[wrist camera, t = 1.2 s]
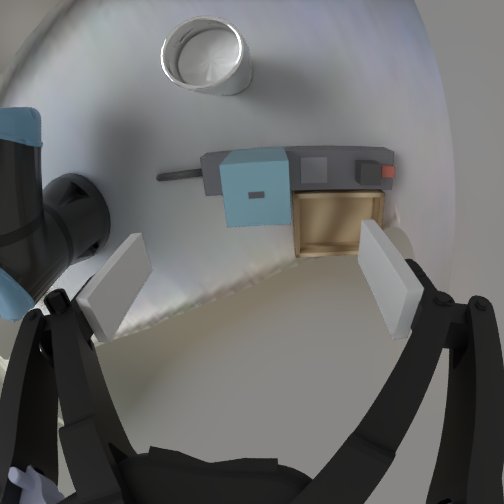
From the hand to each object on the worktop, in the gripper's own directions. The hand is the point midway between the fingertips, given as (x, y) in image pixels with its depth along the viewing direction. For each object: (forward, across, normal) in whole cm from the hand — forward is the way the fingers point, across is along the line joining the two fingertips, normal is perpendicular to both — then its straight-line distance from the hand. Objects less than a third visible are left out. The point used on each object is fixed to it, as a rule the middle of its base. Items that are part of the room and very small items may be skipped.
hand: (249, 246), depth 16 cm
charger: (+21, 0, 0) cm, 21 cm away
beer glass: (+23, -3, +13) cm, 26 cm away
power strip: (+22, +1, 0) cm, 22 cm away
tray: (+22, +10, -8) cm, 26 cm away
